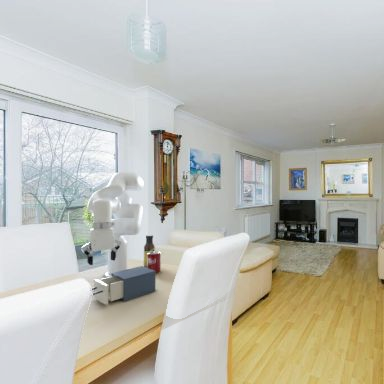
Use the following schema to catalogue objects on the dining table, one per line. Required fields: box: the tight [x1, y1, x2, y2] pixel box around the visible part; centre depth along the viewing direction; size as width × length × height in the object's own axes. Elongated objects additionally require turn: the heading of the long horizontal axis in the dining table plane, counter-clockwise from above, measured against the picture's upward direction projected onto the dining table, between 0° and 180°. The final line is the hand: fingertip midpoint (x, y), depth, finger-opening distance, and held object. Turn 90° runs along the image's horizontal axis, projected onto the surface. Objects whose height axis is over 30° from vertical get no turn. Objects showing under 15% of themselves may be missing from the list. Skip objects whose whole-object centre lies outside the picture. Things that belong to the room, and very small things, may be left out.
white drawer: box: [91, 276, 124, 306], centre depth 113 cm, size 19×11×8 cm, turn 142°
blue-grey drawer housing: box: [111, 265, 156, 302], centre depth 122 cm, size 15×13×10 cm
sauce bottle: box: [143, 234, 156, 268], centre depth 160 cm, size 6×6×20 cm
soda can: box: [147, 250, 162, 276], centre depth 149 cm, size 7×7×12 cm
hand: (102, 262), depth 121 cm, fingers open, 9 cm apart
